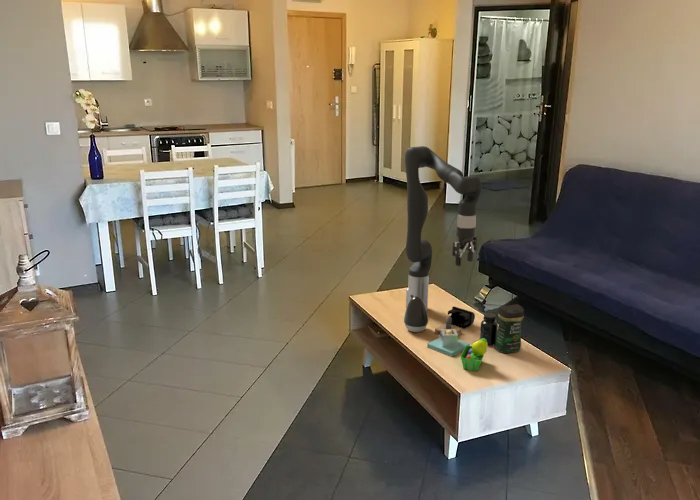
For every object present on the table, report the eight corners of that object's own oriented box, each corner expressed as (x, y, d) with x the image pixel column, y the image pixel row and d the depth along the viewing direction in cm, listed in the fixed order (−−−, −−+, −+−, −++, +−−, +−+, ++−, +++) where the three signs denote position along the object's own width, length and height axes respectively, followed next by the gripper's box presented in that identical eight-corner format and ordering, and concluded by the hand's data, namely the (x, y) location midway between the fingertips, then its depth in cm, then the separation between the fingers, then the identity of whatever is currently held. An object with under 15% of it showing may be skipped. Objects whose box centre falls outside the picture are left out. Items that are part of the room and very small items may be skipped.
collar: (440, 340, 235) (440, 329, 234) (454, 340, 235) (455, 329, 234) (442, 347, 229) (442, 335, 228) (457, 346, 229) (458, 335, 228)
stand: (434, 333, 246) (435, 317, 244) (445, 327, 251) (446, 312, 249) (450, 338, 240) (451, 323, 238) (461, 333, 246) (462, 317, 244)
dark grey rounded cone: (420, 323, 255) (421, 291, 251) (431, 332, 246) (433, 299, 242) (399, 326, 252) (400, 294, 248) (410, 336, 243) (411, 302, 238)
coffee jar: (503, 355, 226) (506, 311, 221) (491, 347, 233) (495, 303, 228) (524, 351, 229) (528, 307, 224) (512, 343, 236) (516, 300, 231)
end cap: (474, 324, 254) (475, 310, 252) (465, 329, 249) (466, 315, 248) (455, 318, 261) (456, 304, 259) (446, 323, 256) (447, 308, 254)
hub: (427, 347, 233) (427, 331, 231) (445, 338, 241) (445, 322, 239) (452, 356, 225) (453, 340, 223) (469, 347, 233) (470, 331, 231)
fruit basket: (465, 357, 225) (467, 330, 221) (488, 361, 221) (490, 333, 218) (459, 370, 214) (460, 342, 211) (483, 374, 211) (485, 346, 208)
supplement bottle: (485, 337, 242) (487, 310, 238) (500, 342, 237) (502, 315, 234) (476, 342, 237) (478, 315, 234) (490, 347, 232) (492, 320, 229)
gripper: (468, 220, 243) (466, 258, 247) (448, 226, 233) (446, 265, 238) (483, 223, 238) (481, 261, 242) (464, 229, 228) (461, 269, 233)
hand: (464, 263), depth 240 cm, fingers open, 8 cm apart
